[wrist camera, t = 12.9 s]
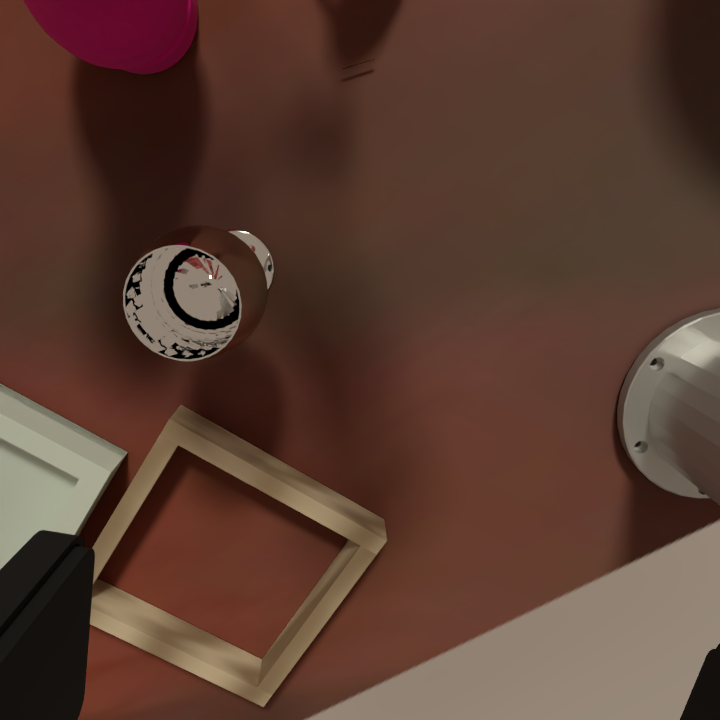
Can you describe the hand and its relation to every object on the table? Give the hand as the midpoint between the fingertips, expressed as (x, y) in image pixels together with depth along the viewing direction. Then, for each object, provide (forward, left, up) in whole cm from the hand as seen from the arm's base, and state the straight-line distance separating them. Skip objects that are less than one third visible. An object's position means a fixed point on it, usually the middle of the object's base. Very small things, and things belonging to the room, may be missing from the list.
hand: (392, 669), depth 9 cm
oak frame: (-2, +19, -28) cm, 33 cm away
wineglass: (+7, +2, -28) cm, 29 cm away
